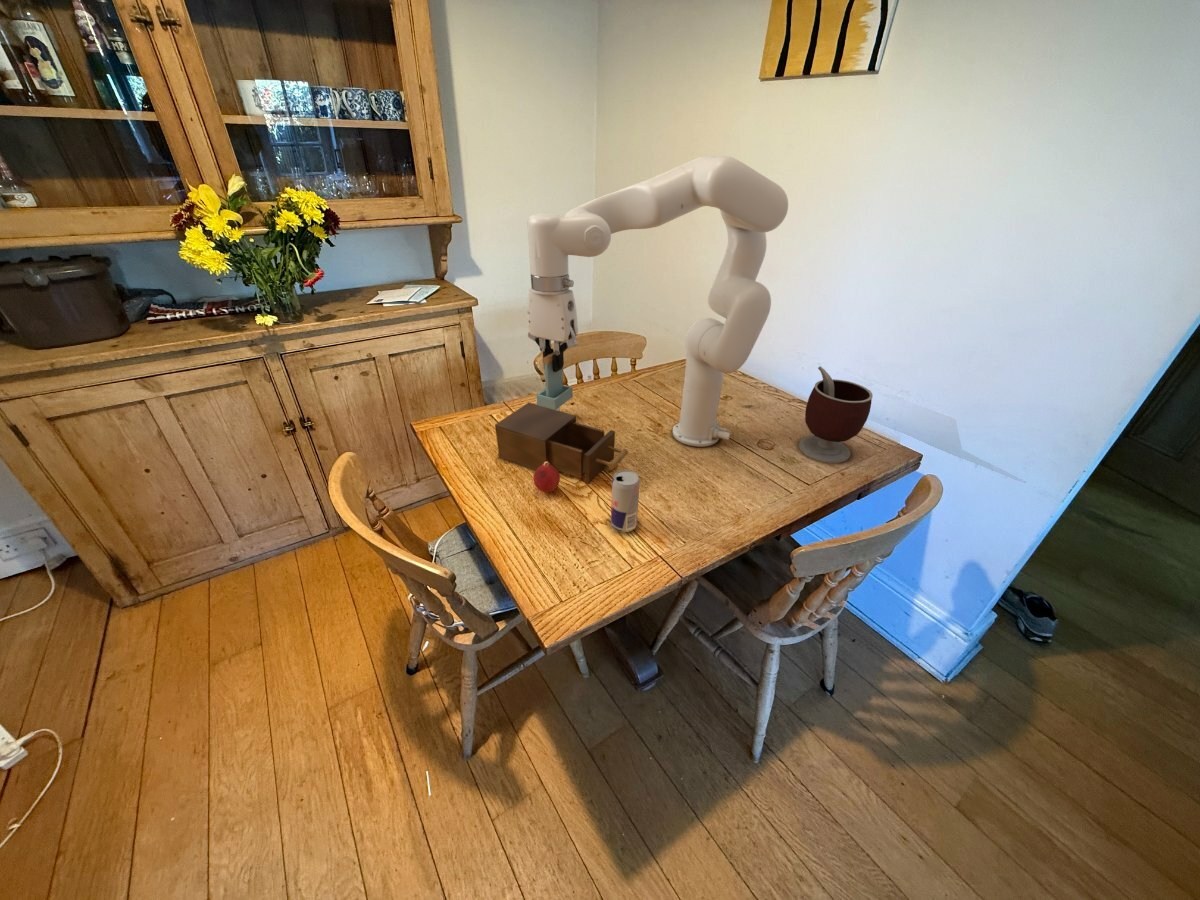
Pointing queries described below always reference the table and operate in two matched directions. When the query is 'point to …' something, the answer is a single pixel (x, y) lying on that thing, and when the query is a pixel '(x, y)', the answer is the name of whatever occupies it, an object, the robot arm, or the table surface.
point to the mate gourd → (834, 418)
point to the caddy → (553, 387)
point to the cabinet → (529, 434)
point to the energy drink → (625, 500)
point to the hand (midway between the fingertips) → (553, 368)
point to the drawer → (583, 451)
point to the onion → (546, 477)
